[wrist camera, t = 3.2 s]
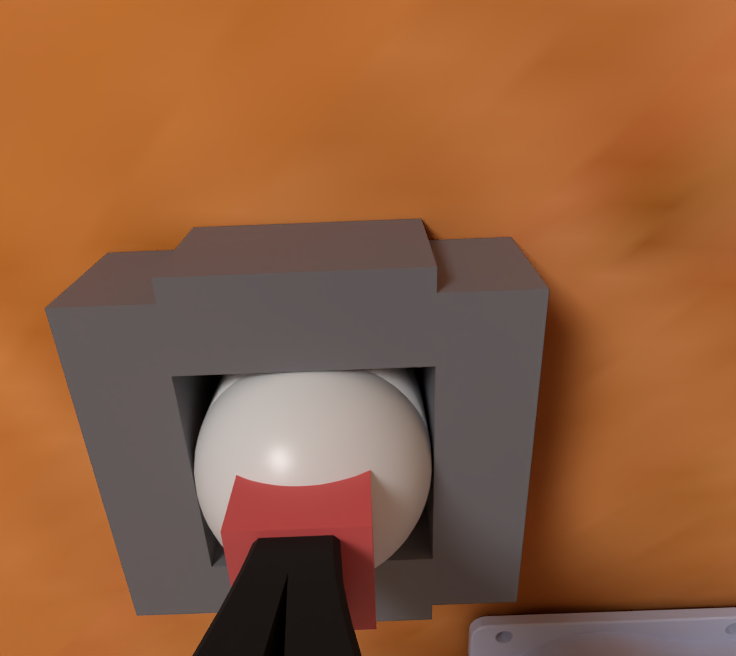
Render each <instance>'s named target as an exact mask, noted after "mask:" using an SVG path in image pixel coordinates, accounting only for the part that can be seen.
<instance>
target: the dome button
mask: <svg viewBox="0 0 736 656" xmlns="http://www.w3.org/2000/svg"><path fill="white" fill-rule="evenodd" d="M431 474H432V455H431V443H430V437H429V431H428V425H427V419H426V413H425V408H424V402H423V396H422V390H421V386H420V381H419V377H418V375H417V372H416V370H415V367H407V368H381V369H354V370H328V371H301V372H275V373H249V374H222V376H221V378H220V381H219V383H218V386H217V388H216V391H215V393H214V396H213V398H212V401H211V403H210V406H209V408H208V411H207V413H206V416H205V418H204V421H203V423H202V426H201V429H200V432H199V436H198V440H197V444H196V449H195V462H194V477H195V485H196V492H197V497H198V500H199V504H200V507H201V510H202V513H203V515H204V518H205V520H206V522H207V524H208V526H209V528H210V529H211V531H212V532H213V534H214V535H215V537H216V538H217V540H218V541H219V543H220V544H221V545H222V546H223V548H224V553H225V558H226V563H227V569H228V574H229V579H230V584H231V587H232V585H233V583H234V581H235V579H236V577H237V575H238V573H239V571H240V569H241V567H242V565H243V563H244V561H245V559H246V557H247V555H248V553H249V550H250V548H251V546H252V544H253V543H254V542H255V541H256V540H257V539H258V538H269V537H296V536H321V535H334V536H335V537H336V538H338V539H339V540H340V545H341V558H342V571H343V583H344V588H345V593H346V598H347V603H348V608H349V612H350V616H351V620H352V624H353V628H354V630H362V629H376V596H375V568H376V567H378V566H379V565H380V564H382V563H383V562H385V561H386V560H387V559H388V558H389V557H390V556H392V555H393V554H394V553H395V552H396V551H397V550H398V549H399V547H400V546H401V545H402V544H403V543H404V542H405V541H406V539H407V538H408V536H409V535H410V533H411V532H412V530H413V529H414V527H415V525H416V524H417V522H418V520H419V518H420V516H421V514H422V511H423V509H424V506H425V503H426V500H427V497H428V493H429V489H430V483H431Z"/></svg>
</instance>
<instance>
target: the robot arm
mask: <svg viewBox="0 0 736 656" xmlns="http://www.w3.org/2000/svg"><path fill="white" fill-rule="evenodd" d="M193 656H361V652H360V649H359V645H358V642H357V638H356V635H355V631H354V628H353V624H352V620H351V616H350V612H349V608H348V603H347V598H346V593H345V588H344V583H343V571H342V558H341V545H340V540H339V539H338V538H336V537H335V536H334V535H321V536H296V537H269V538H258V539H257V540H256V541H255V542H254V543H253V544H252V546H251V548H250V550H249V553H248V555H247V557H246V559H245V561H244V563H243V565H242V567H241V569H240V571H239V573H238V575H237V577H236V579H235V581H234V583H233V585H232V587H231V589H230V591H229V593H228V594H227V596H226V598H225V600H224V602H223V604H222V606H221V607H220V609H219V611H218V613H217V615H216V616H215V618H214V620H213V621H212V623H211V625H210V627H209V628H208V630H207V632H206V633H205V635H204V637H203V639H202V640H201V642H200V644H199V645H198V647H197V649H196V651H195V652H194V654H193ZM468 656H736V607H729V608H701V609H673V610H645V611H617V612H589V613H561V614H533V615H505V616H484V617H480V618H477V619H475V620H474V621H473V622H472V623H471V625H470V628H469V644H468Z"/></svg>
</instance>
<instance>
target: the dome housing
mask: <svg viewBox="0 0 736 656" xmlns="http://www.w3.org/2000/svg"><path fill="white" fill-rule="evenodd" d="M548 297H549V288H548V286H547V285H546V284H545V282H544V281H543V280H542V278H541V277H540V276H539V274H538V273H537V271H536V270H535V269H534V267H533V266H532V265H531V263H530V262H529V261H528V259H527V258H526V256H525V255H524V254H523V252H522V251H521V250H520V248H519V247H518V246H517V244H516V243H515V241H514V240H513V239H512V237H500V238H474V239H449V240H428V237H427V234H426V231H425V228H424V225H423V222H422V219H399V220H373V221H348V222H322V223H297V224H271V225H246V226H220V227H194V228H193V229H192V230H191V231H190V232H189V233H188V235H187V236H186V237H185V238H184V239H183V240H182V242H181V243H180V244H179V245H178V246H177V248H176V249H175V250H166V251H140V252H115V253H107V254H106V255H105V256H103V257H102V258H101V259H100V260H99V261H98V262H97V263H95V264H94V265H93V266H92V267H91V268H90V269H89V270H88V271H86V272H85V273H84V274H83V275H82V276H81V277H80V278H78V279H77V280H76V281H75V282H74V283H73V284H72V285H70V286H69V287H68V288H67V289H66V290H65V291H64V292H63V293H61V294H60V295H59V296H58V297H57V298H56V299H55V300H53V301H52V302H51V303H50V304H49V305H48V306H47V307H46V308H45V311H46V315H47V318H48V321H49V325H50V328H51V331H52V335H53V338H54V341H55V345H56V348H57V351H58V354H59V358H60V361H61V364H62V368H63V371H64V374H65V378H66V381H67V384H68V388H69V391H70V394H71V398H72V401H73V404H74V408H75V411H76V414H77V418H78V421H79V424H80V428H81V431H82V434H83V438H84V441H85V444H86V448H87V451H88V454H89V458H90V461H91V464H92V468H93V471H94V474H95V478H96V481H97V484H98V488H99V491H100V494H101V498H102V501H103V504H104V508H105V511H106V514H107V518H108V521H109V524H110V528H111V531H112V534H113V538H114V541H115V544H116V548H117V551H118V554H119V558H120V561H121V564H122V568H123V571H124V574H125V578H126V581H127V584H128V588H129V591H130V594H131V598H132V601H133V604H134V608H135V611H136V614H137V616H139V615H167V614H194V613H218V611H219V609H220V607H221V606H222V604H223V602H224V600H225V598H226V596H227V594H228V593H229V591H230V589H231V584H230V579H229V574H228V569H227V563H226V558H225V553H224V548H223V546H222V545H221V544H220V543H219V541H218V540H217V538H216V537H215V535H214V534H213V532H212V531H211V529H210V528H209V526H208V524H207V522H206V520H205V518H204V515H203V513H202V510H201V507H200V504H199V500H198V497H197V492H196V485H195V477H194V462H195V449H196V444H197V440H198V436H199V432H200V429H201V426H202V423H203V421H204V418H205V416H206V413H207V411H208V408H209V406H210V403H211V401H212V398H213V396H214V393H215V391H216V388H217V386H218V383H219V376H218V375H222V374H249V373H275V372H301V371H328V370H354V369H381V368H407V367H421V390H422V396H423V402H424V408H425V413H426V419H427V425H428V431H429V437H430V443H431V455H432V474H431V483H430V489H429V493H428V497H427V500H426V503H425V506H424V509H423V511H422V514H421V516H420V518H419V520H418V522H417V524H416V525H415V527H414V529H413V530H412V532H411V533H410V535H409V536H408V538H407V539H406V541H405V542H404V543H403V544H402V545H401V546H400V547H399V549H398V550H397V551H396V552H395V553H394V554H393V555H392V556H390V557H389V558H388V559H387V560H386V561H385V562H383V563H382V564H380V565H379V566H378V567H376V568H375V596H376V621H401V620H429V619H432V605H445V604H473V603H501V602H517V594H518V585H519V575H520V565H521V556H522V546H523V537H524V527H525V517H526V508H527V498H528V489H529V479H530V469H531V460H532V450H533V441H534V431H535V421H536V412H537V402H538V393H539V383H540V374H541V364H542V354H543V345H544V335H545V326H546V316H547V306H548Z"/></svg>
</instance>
